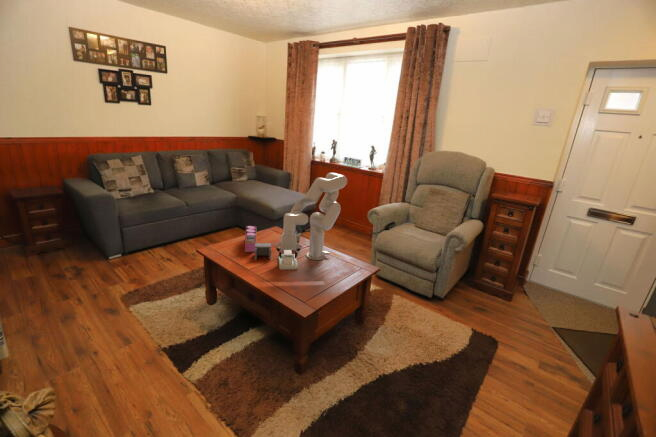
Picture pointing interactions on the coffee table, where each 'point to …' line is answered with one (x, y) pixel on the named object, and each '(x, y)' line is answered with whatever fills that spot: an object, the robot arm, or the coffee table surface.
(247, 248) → the gum box
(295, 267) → the tray
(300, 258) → the coffee table surface
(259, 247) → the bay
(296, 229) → the coffee cup
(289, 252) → the teal-tabbed cream block
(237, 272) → the coffee table surface
